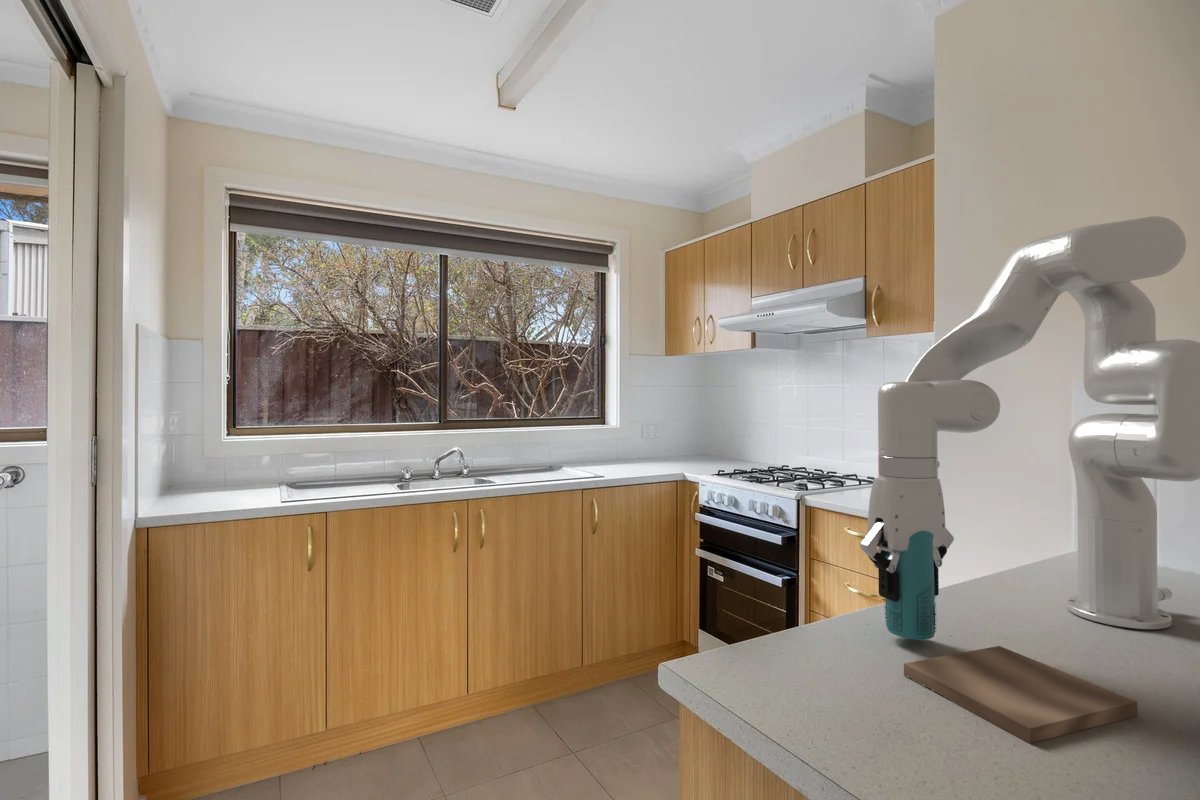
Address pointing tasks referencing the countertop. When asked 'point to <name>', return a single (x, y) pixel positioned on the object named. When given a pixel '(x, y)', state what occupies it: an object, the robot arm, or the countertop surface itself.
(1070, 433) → the robot arm
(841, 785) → the countertop surface
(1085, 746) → the countertop surface
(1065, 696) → the walnut board
